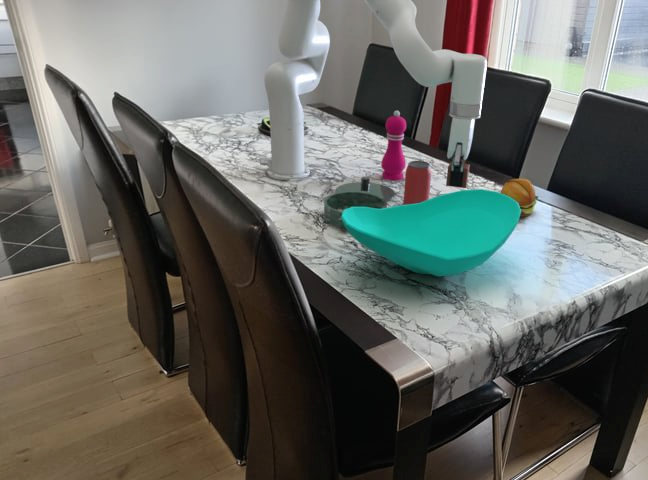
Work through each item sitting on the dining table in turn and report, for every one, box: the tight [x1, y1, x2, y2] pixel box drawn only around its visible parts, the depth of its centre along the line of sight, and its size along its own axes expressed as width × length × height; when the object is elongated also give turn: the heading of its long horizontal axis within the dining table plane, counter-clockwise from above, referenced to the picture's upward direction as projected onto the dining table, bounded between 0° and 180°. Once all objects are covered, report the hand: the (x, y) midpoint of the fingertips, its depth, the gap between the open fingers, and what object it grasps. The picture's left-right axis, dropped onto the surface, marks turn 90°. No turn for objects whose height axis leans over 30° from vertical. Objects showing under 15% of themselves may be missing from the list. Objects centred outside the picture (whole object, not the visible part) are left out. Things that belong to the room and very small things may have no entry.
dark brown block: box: [445, 161, 471, 189], centre depth 146 cm, size 5×4×5 cm
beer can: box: [402, 160, 432, 205], centre depth 150 cm, size 7×7×12 cm
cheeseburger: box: [500, 178, 539, 217], centre depth 152 cm, size 10×11×10 cm
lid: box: [334, 176, 396, 203], centre depth 158 cm, size 16×16×5 cm
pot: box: [323, 191, 388, 230], centre depth 143 cm, size 15×21×4 cm
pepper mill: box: [380, 110, 407, 181], centre depth 168 cm, size 7×7×20 cm
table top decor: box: [341, 188, 521, 277], centre depth 120 cm, size 40×28×13 cm
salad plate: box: [256, 117, 310, 138], centre depth 213 cm, size 19×18×5 cm
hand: (456, 182), depth 147 cm, fingers closed on dark brown block, 4 cm apart
